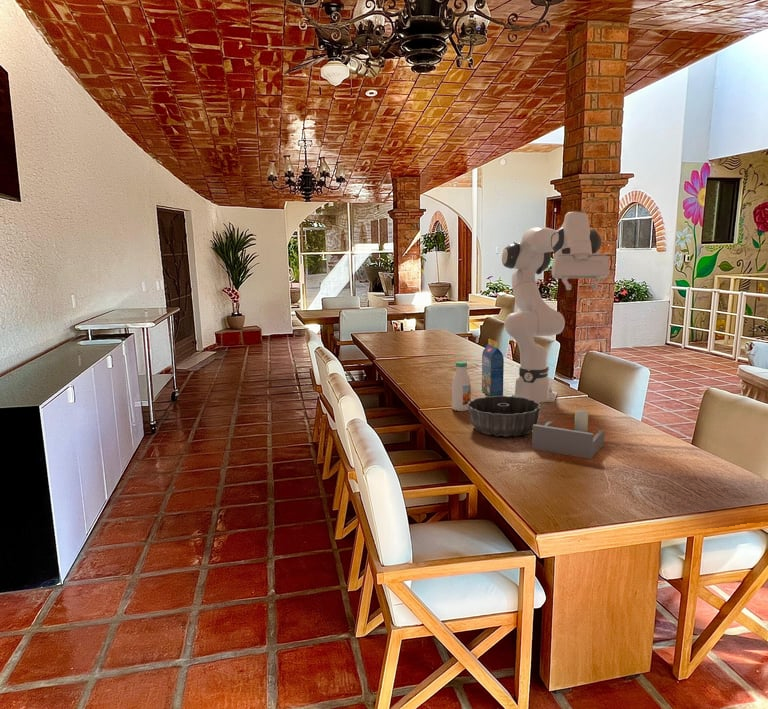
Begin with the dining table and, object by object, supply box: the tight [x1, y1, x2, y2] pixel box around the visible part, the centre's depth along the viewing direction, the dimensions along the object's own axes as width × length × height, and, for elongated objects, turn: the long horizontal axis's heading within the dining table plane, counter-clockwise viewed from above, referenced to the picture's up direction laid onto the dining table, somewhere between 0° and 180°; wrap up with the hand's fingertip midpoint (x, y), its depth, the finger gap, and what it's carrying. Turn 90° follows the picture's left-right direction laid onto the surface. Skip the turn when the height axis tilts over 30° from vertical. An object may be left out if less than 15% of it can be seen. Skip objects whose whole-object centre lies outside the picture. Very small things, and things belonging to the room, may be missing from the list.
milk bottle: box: [451, 360, 472, 412], centre depth 233 cm, size 8×8×20 cm
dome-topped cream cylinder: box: [574, 408, 589, 432], centre depth 200 cm, size 4×4×8 cm
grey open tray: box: [531, 421, 605, 460], centre depth 187 cm, size 16×19×8 cm
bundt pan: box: [467, 395, 542, 438], centre depth 206 cm, size 26×26×10 cm
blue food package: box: [481, 338, 505, 397], centre depth 257 cm, size 6×12×25 cm, turn 9°
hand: (581, 289), depth 203 cm, fingers open, 8 cm apart
